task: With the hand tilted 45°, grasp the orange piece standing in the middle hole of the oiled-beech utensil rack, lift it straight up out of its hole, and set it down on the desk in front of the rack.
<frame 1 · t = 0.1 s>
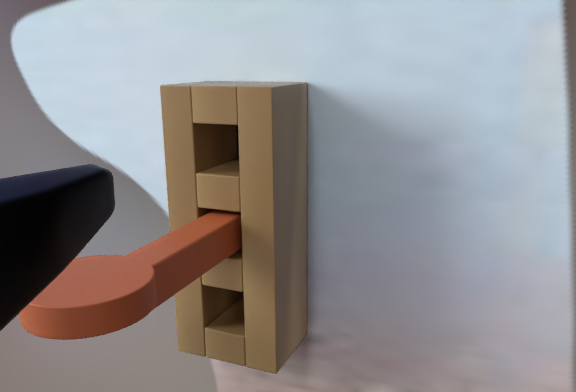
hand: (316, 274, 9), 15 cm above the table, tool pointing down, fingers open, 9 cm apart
utensil rack: (258, 210, 27), on the table
orange piece: (258, 210, 27), resting in utensil rack
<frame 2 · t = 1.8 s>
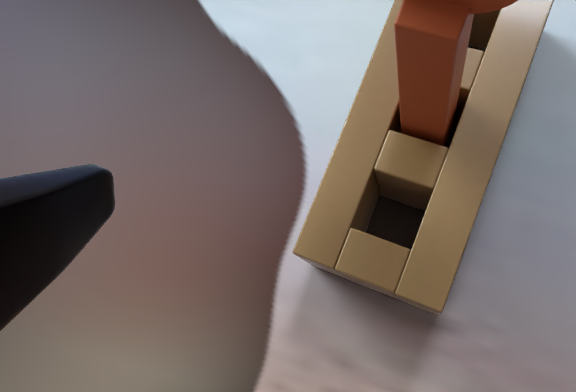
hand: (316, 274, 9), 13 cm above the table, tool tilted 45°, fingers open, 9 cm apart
utensil rack: (426, 146, 23), on the table
orange piece: (426, 146, 23), resting in utensil rack
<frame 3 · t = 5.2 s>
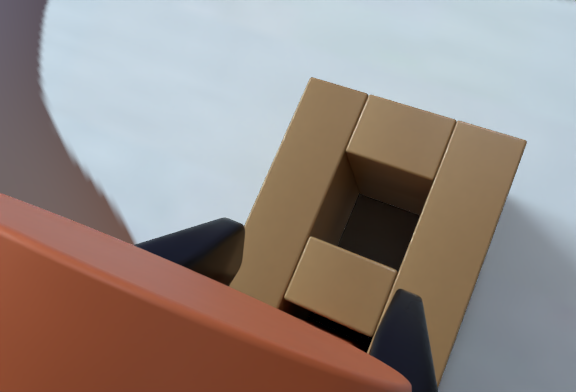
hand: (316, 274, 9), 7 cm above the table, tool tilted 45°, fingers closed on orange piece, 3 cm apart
utensil rack: (331, 359, 15), on the table
orange piece: (331, 358, 15), resting in utensil rack, touching gripper
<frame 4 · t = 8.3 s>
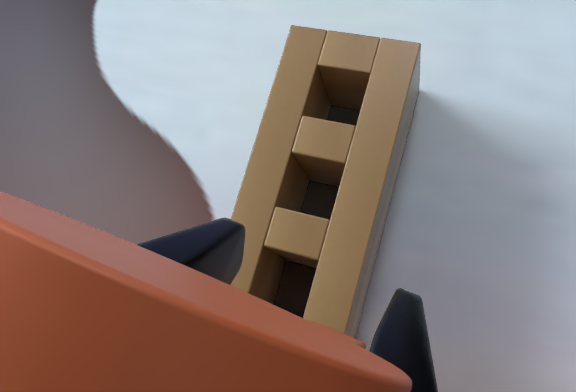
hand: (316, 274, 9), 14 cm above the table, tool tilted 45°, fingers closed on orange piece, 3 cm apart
utensil rack: (326, 208, 24), on the table
orange piece: (331, 358, 15), point 7 cm above the table, touching gripper
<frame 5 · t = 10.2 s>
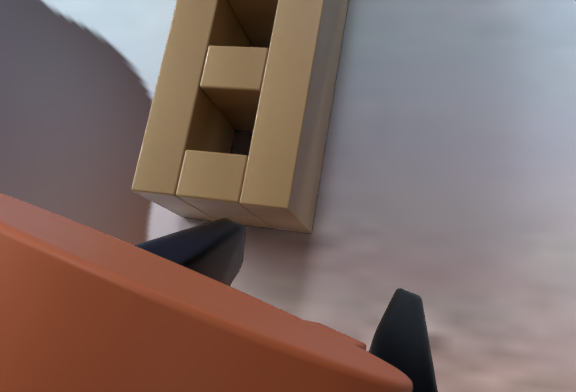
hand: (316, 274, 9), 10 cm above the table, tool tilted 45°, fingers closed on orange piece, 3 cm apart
utensil rack: (272, 72, 22), on the table
orange piece: (332, 359, 15), point 3 cm above the table, touching gripper
when the fingers open (7 cm above the table, at t = 11.4 s): orange piece stays where it is, on the table.
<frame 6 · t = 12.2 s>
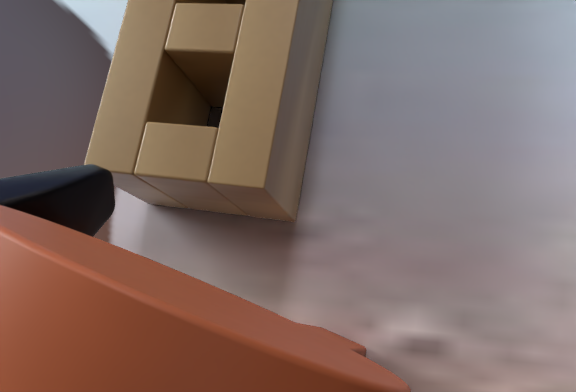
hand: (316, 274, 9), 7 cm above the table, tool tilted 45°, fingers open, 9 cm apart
utensil rack: (253, 41, 19), on the table
orange piece: (332, 362, 16), on the table
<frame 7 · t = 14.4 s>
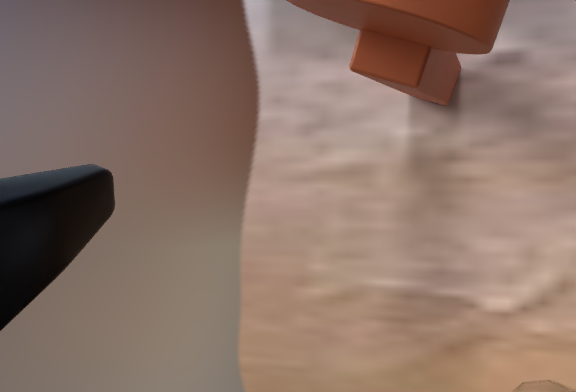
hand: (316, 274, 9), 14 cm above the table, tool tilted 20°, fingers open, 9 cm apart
orange piece: (434, 80, 21), on the table
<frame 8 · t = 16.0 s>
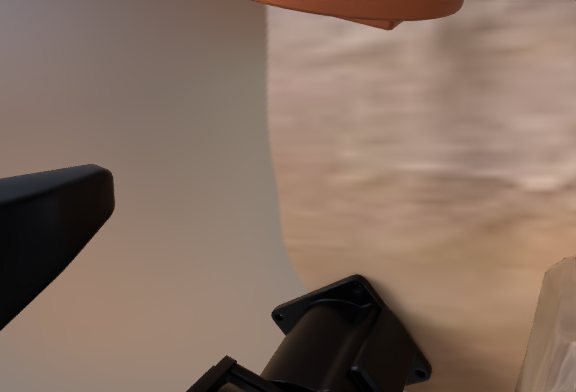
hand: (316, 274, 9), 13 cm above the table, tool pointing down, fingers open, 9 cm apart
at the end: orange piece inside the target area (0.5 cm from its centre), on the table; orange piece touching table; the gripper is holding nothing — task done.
